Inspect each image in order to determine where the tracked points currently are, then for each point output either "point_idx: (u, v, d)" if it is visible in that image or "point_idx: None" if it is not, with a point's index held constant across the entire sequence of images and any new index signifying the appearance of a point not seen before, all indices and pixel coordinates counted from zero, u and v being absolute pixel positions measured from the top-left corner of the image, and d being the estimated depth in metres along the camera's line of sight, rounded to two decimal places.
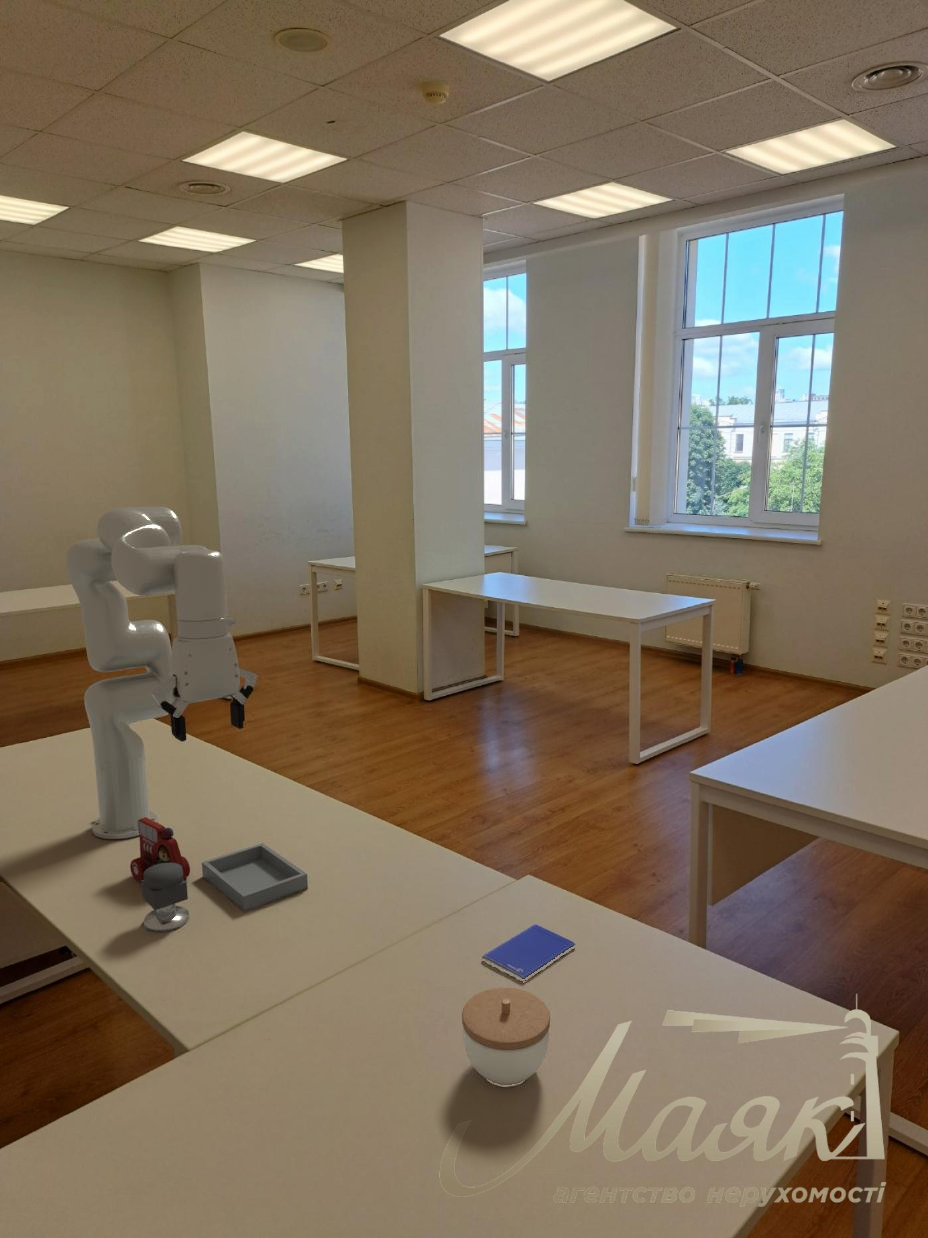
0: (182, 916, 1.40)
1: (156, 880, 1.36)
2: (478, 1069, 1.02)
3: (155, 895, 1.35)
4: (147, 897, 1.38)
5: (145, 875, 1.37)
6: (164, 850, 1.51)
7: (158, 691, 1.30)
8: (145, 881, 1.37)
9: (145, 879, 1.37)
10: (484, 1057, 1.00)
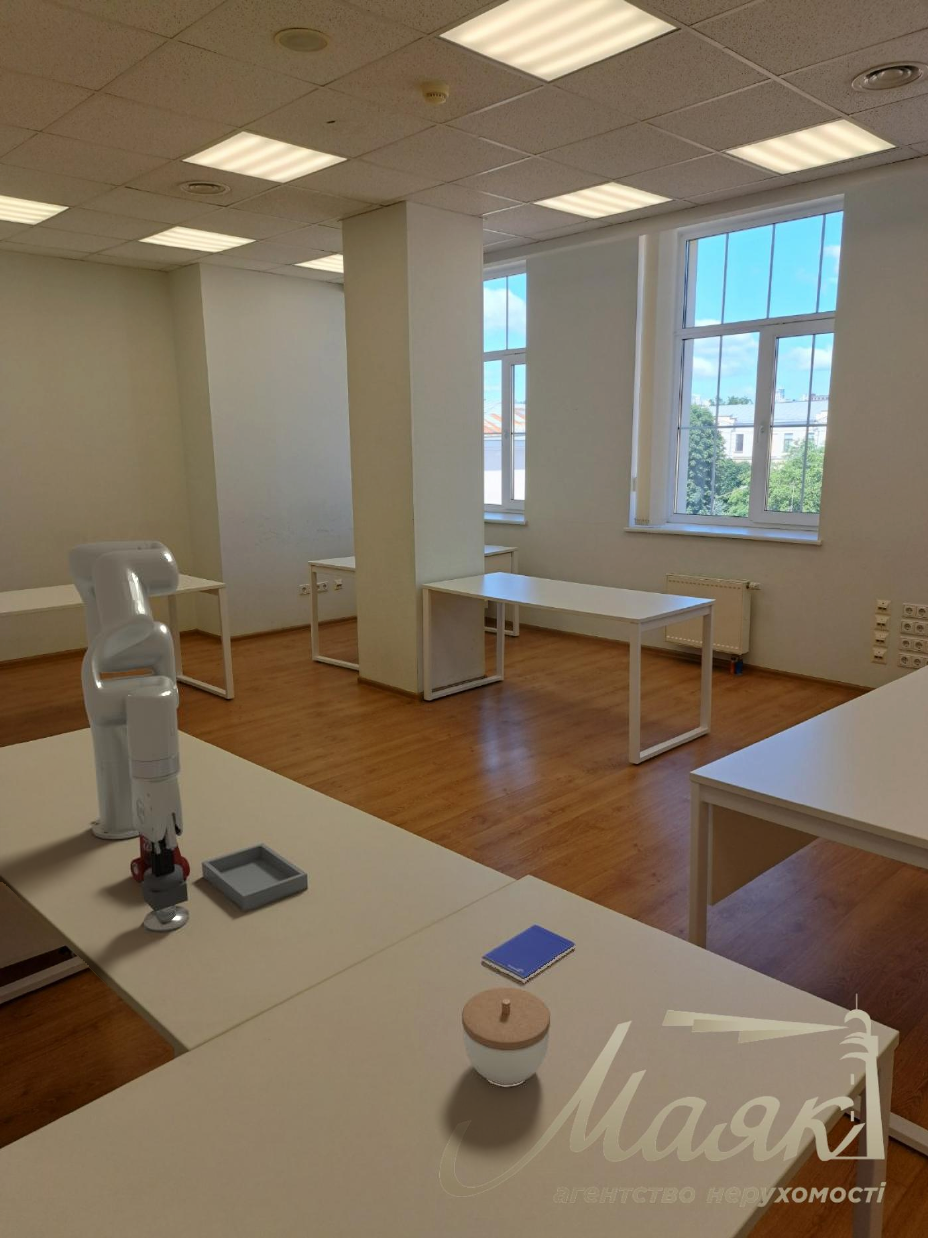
0: (182, 916, 1.40)
1: (157, 882, 1.36)
2: (478, 1069, 1.02)
3: (155, 896, 1.35)
4: (147, 898, 1.38)
5: (145, 876, 1.37)
6: None
7: (176, 841, 1.34)
8: (146, 883, 1.37)
9: (145, 880, 1.37)
10: (484, 1057, 1.00)
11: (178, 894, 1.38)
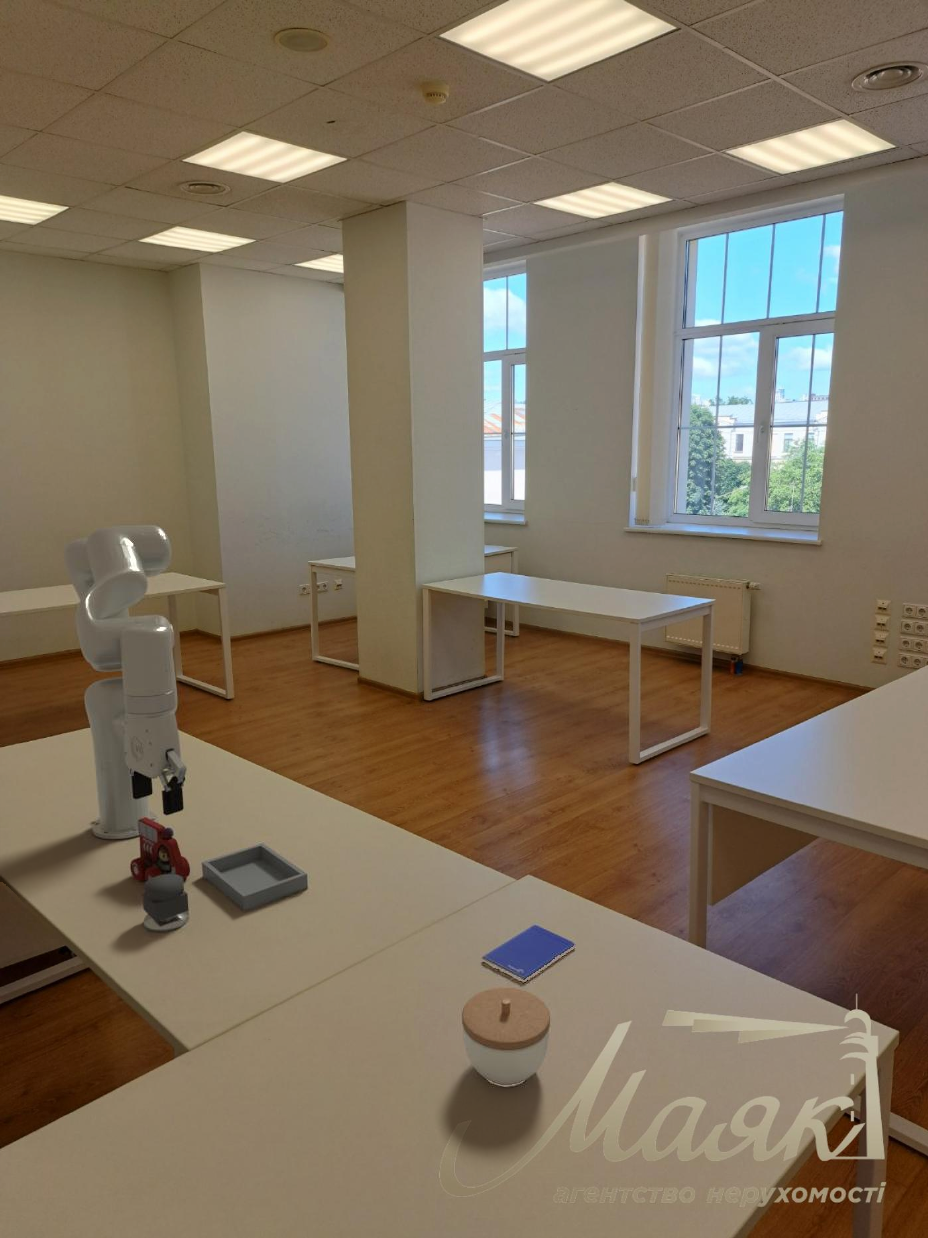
0: (182, 916, 1.40)
1: (157, 892, 1.36)
2: (478, 1069, 1.02)
3: (156, 907, 1.36)
4: (148, 908, 1.38)
5: (146, 887, 1.38)
6: (164, 850, 1.51)
7: None
8: (146, 893, 1.37)
9: (146, 891, 1.37)
10: (484, 1057, 1.00)
11: (179, 904, 1.38)
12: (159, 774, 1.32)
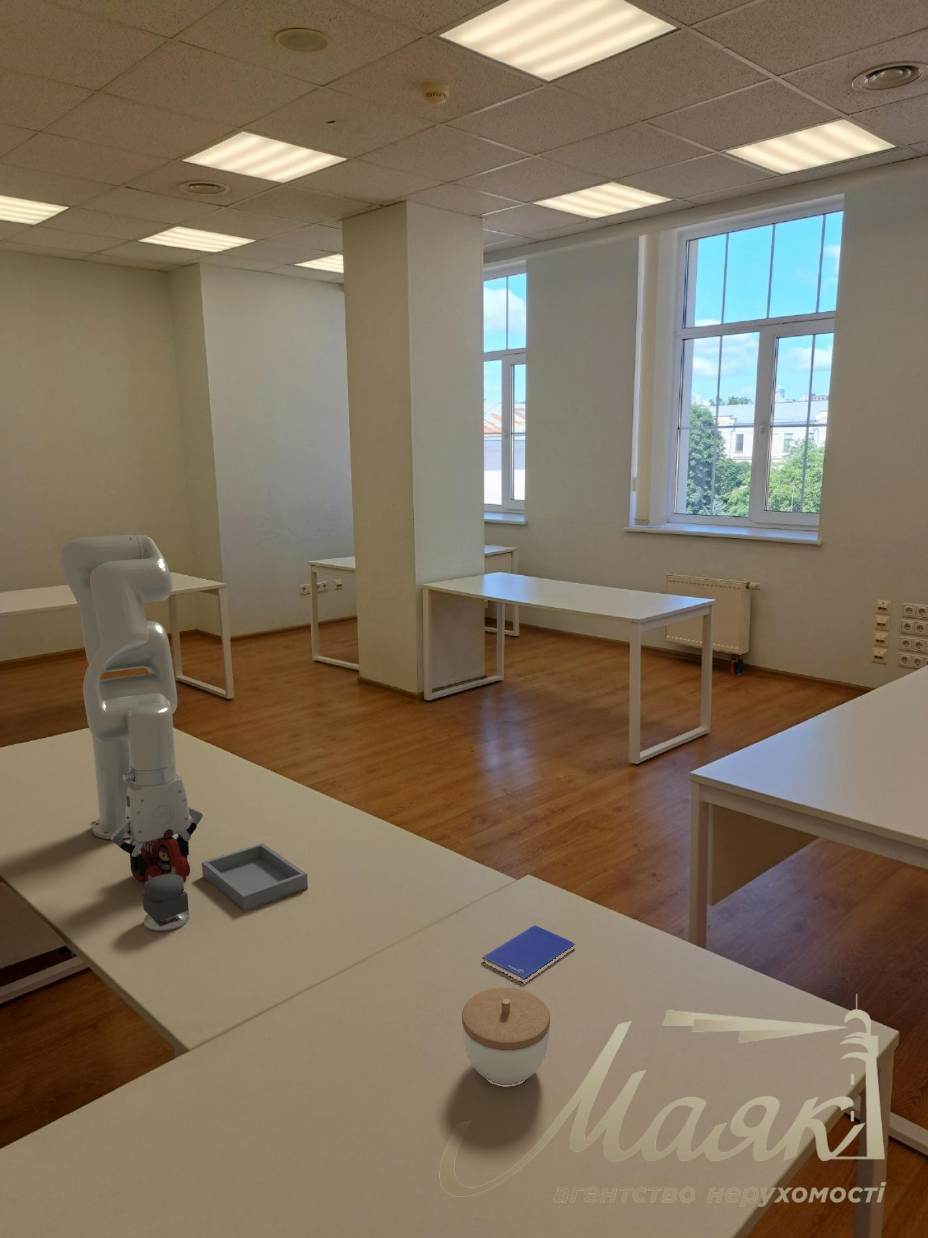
0: (182, 916, 1.40)
1: (157, 892, 1.36)
2: (478, 1069, 1.02)
3: (156, 907, 1.36)
4: (148, 908, 1.38)
5: (146, 887, 1.38)
6: (164, 850, 1.51)
7: None
8: (146, 893, 1.37)
9: (146, 891, 1.37)
10: (484, 1057, 1.00)
11: (179, 904, 1.38)
12: None
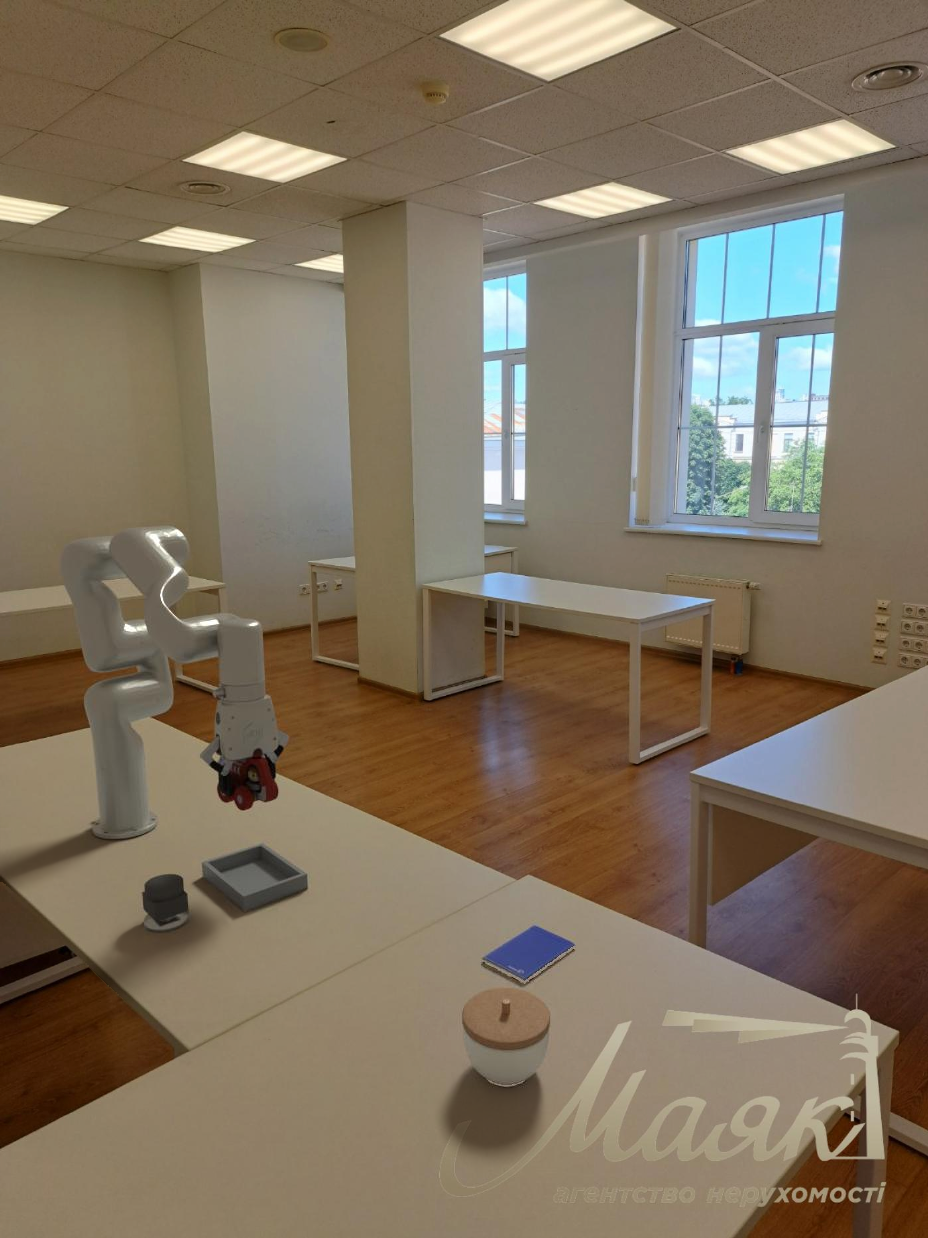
0: (182, 916, 1.40)
1: (157, 892, 1.36)
2: (478, 1069, 1.02)
3: (156, 907, 1.36)
4: (148, 908, 1.38)
5: (146, 887, 1.38)
6: (253, 769, 1.47)
7: None
8: (146, 893, 1.37)
9: (146, 891, 1.37)
10: (484, 1057, 1.00)
11: (179, 904, 1.38)
12: None
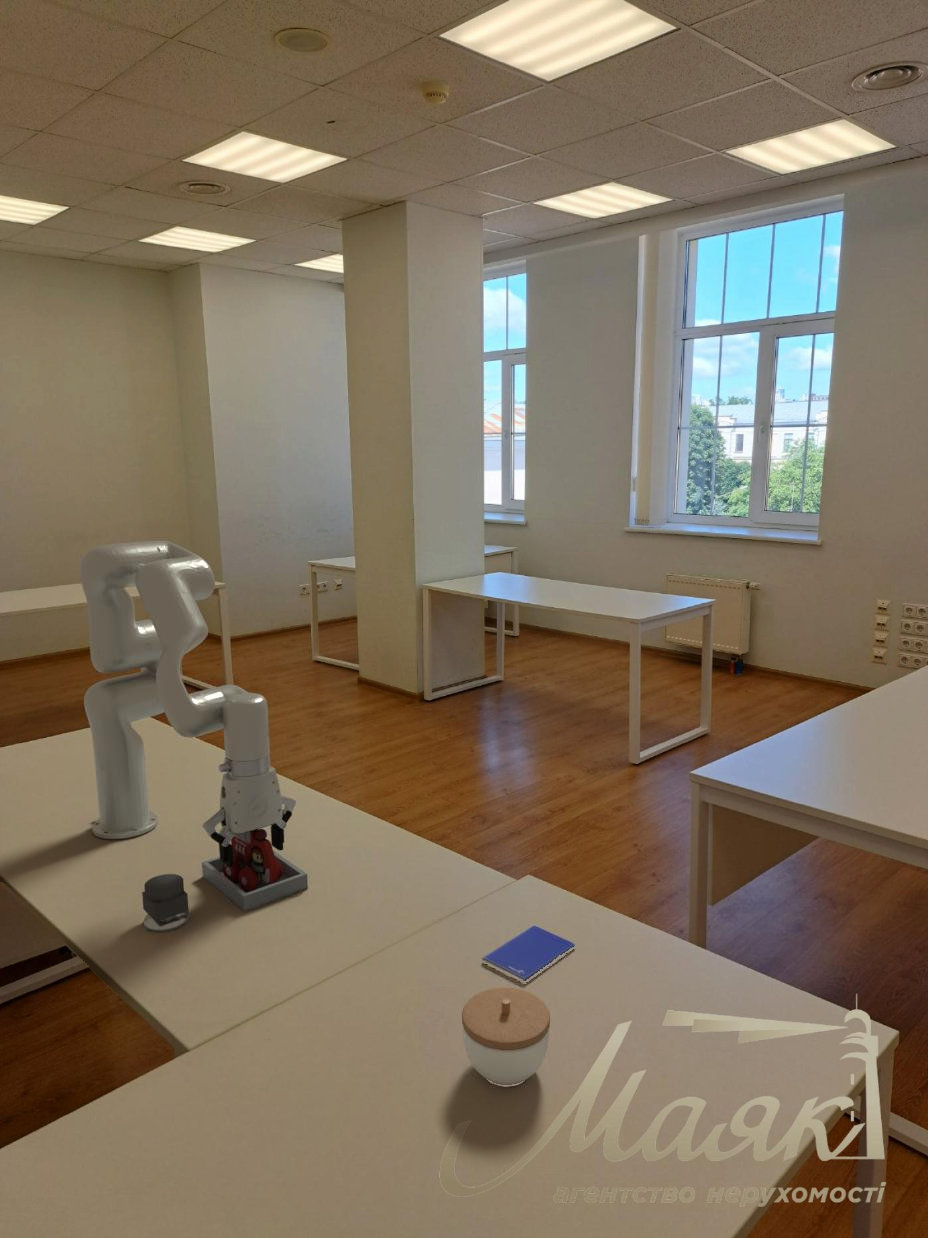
0: (182, 916, 1.40)
1: (157, 892, 1.36)
2: (478, 1069, 1.02)
3: (156, 907, 1.36)
4: (148, 908, 1.38)
5: (146, 887, 1.38)
6: (258, 851, 1.49)
7: None
8: (146, 893, 1.37)
9: (146, 891, 1.37)
10: (484, 1057, 1.00)
11: (179, 904, 1.38)
12: (281, 815, 1.52)
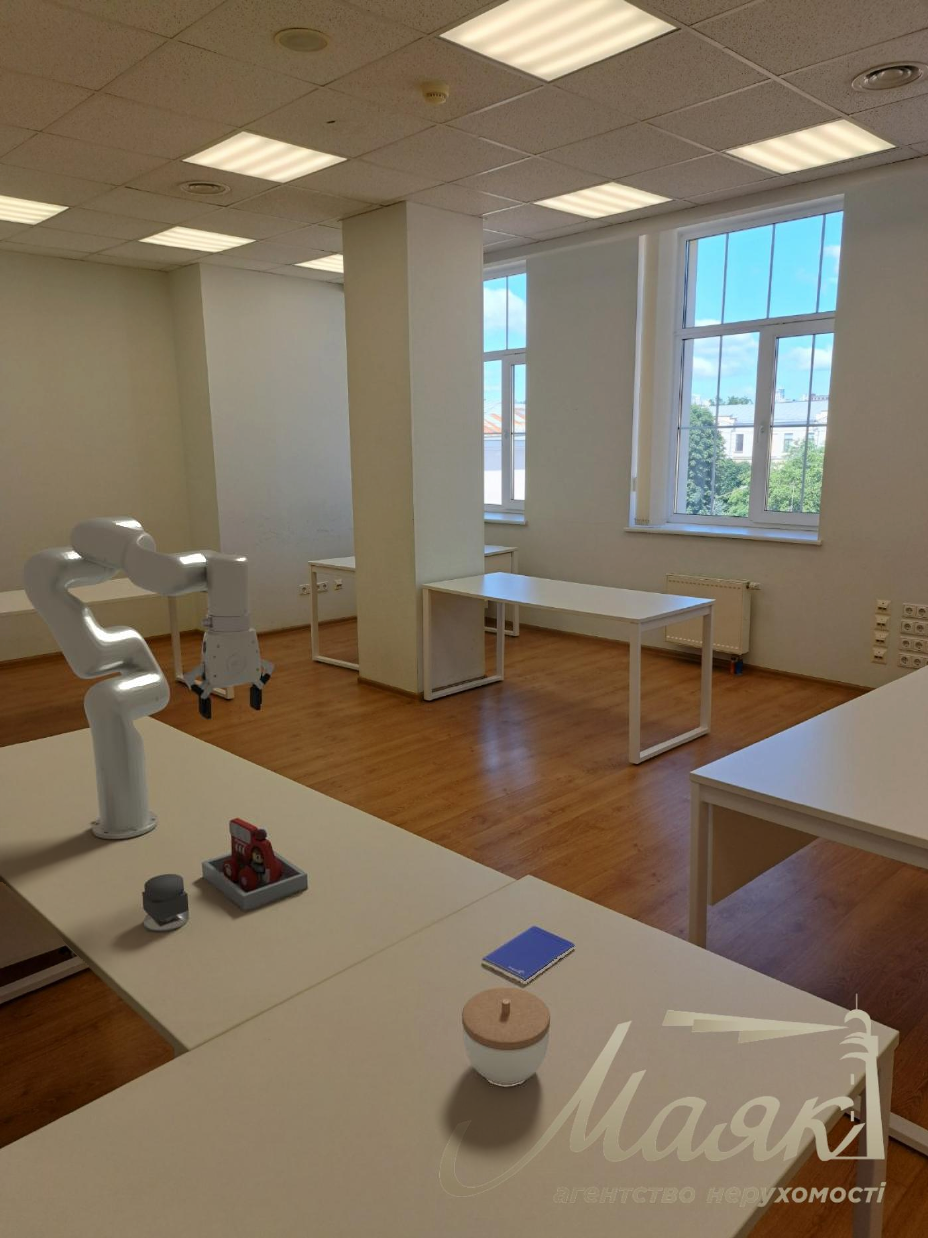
0: (182, 916, 1.40)
1: (157, 892, 1.36)
2: (478, 1069, 1.02)
3: (156, 907, 1.36)
4: (148, 908, 1.38)
5: (146, 887, 1.38)
6: (258, 851, 1.49)
7: None
8: (146, 893, 1.37)
9: (146, 891, 1.37)
10: (484, 1057, 1.00)
11: (179, 904, 1.38)
12: None
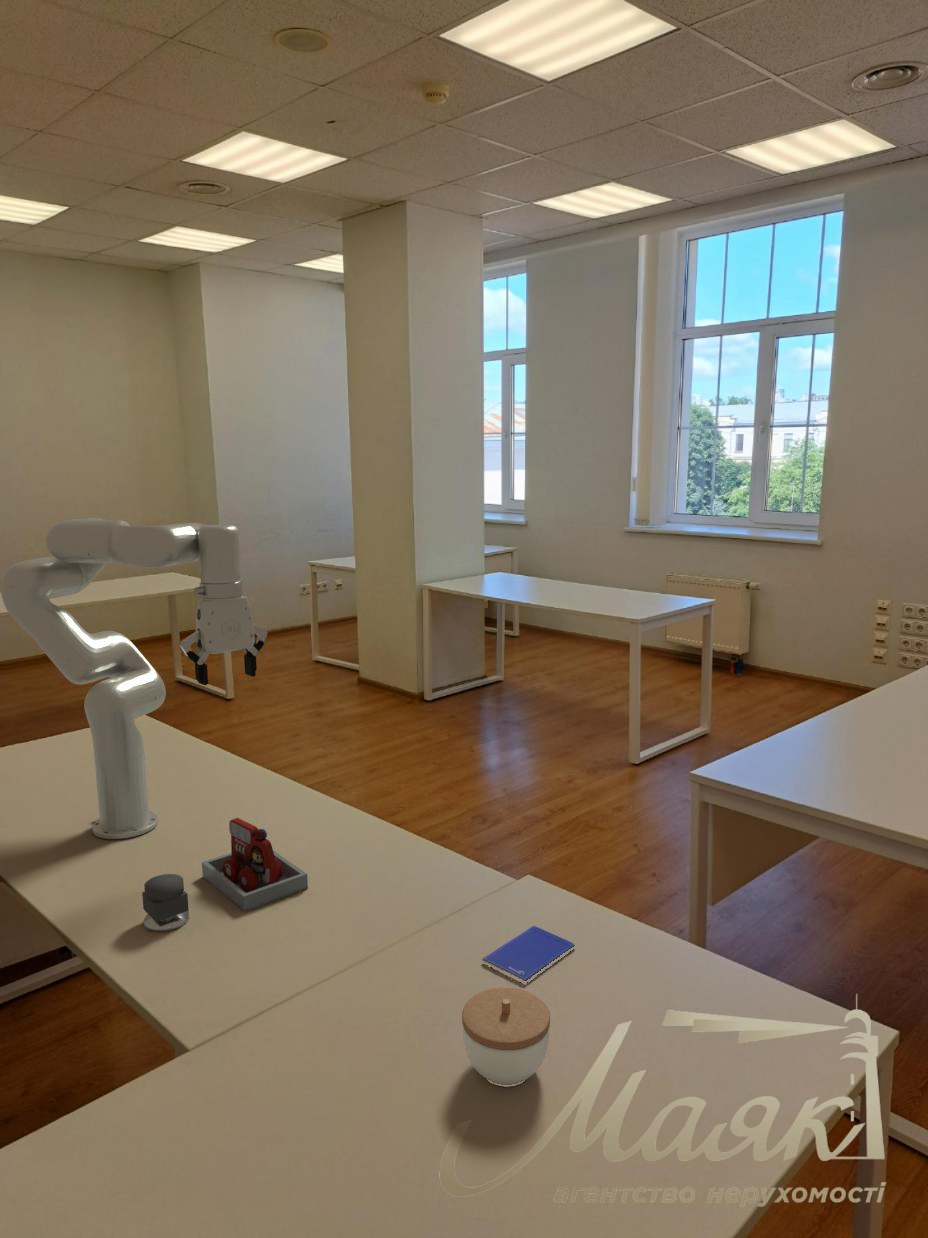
0: (182, 916, 1.40)
1: (157, 892, 1.36)
2: (478, 1069, 1.02)
3: (156, 907, 1.36)
4: (148, 908, 1.38)
5: (146, 887, 1.38)
6: (258, 851, 1.49)
7: None
8: (146, 893, 1.37)
9: (146, 891, 1.37)
10: (484, 1057, 1.00)
11: (179, 904, 1.38)
12: None
